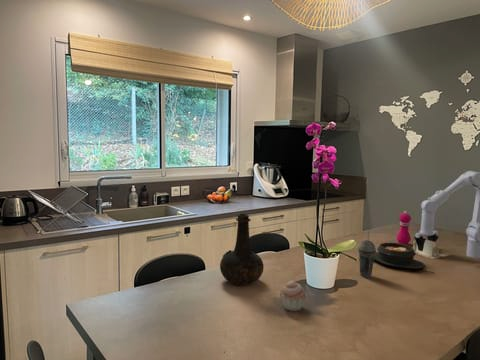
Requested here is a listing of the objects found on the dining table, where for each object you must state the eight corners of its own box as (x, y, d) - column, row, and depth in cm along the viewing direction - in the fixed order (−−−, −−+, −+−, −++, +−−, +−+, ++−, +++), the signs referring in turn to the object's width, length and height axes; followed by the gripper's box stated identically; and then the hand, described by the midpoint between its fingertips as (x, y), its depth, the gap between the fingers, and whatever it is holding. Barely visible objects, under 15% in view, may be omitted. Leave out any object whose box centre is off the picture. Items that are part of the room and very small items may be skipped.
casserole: (361, 261, 178) (362, 244, 177) (378, 253, 191) (379, 237, 190) (415, 276, 160) (416, 257, 159) (429, 266, 173) (431, 248, 172)
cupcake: (311, 310, 126) (313, 282, 125) (290, 316, 122) (291, 287, 121) (294, 299, 134) (295, 273, 133) (273, 304, 130) (274, 277, 129)
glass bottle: (234, 270, 163) (235, 208, 159) (270, 279, 153) (272, 213, 150) (210, 284, 147) (211, 215, 144) (249, 294, 138) (251, 221, 135)
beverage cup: (355, 277, 158) (357, 231, 155) (358, 271, 164) (360, 227, 162) (373, 280, 154) (376, 233, 152) (375, 274, 161) (378, 230, 158)
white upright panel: (418, 250, 193) (419, 237, 193) (434, 255, 185) (435, 242, 185) (416, 251, 193) (417, 238, 192) (431, 256, 185) (432, 242, 184)
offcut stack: (432, 249, 196) (432, 245, 196) (442, 252, 191) (443, 248, 190) (426, 250, 194) (427, 246, 194) (437, 253, 189) (437, 249, 188)
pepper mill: (411, 248, 200) (414, 212, 198) (397, 247, 202) (400, 211, 200) (408, 244, 208) (410, 210, 205) (394, 243, 209) (397, 209, 207)
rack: (426, 249, 200) (427, 238, 199) (451, 256, 188) (452, 245, 187) (407, 252, 193) (408, 241, 193) (431, 260, 181) (432, 248, 180)
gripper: (429, 221, 194) (427, 246, 196) (410, 223, 188) (409, 249, 189) (442, 223, 188) (440, 249, 189) (423, 226, 181) (421, 253, 183)
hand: (425, 249), depth 189 cm, fingers open, 7 cm apart
